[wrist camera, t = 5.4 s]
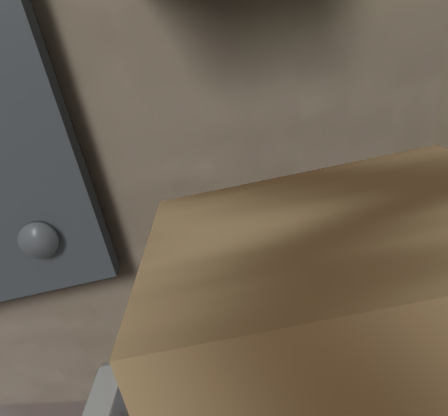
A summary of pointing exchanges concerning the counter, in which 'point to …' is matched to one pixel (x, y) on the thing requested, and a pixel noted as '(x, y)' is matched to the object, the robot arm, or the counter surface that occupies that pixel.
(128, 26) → the counter surface
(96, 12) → the counter surface
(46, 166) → the build plate
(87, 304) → the counter surface
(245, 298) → the oak block
